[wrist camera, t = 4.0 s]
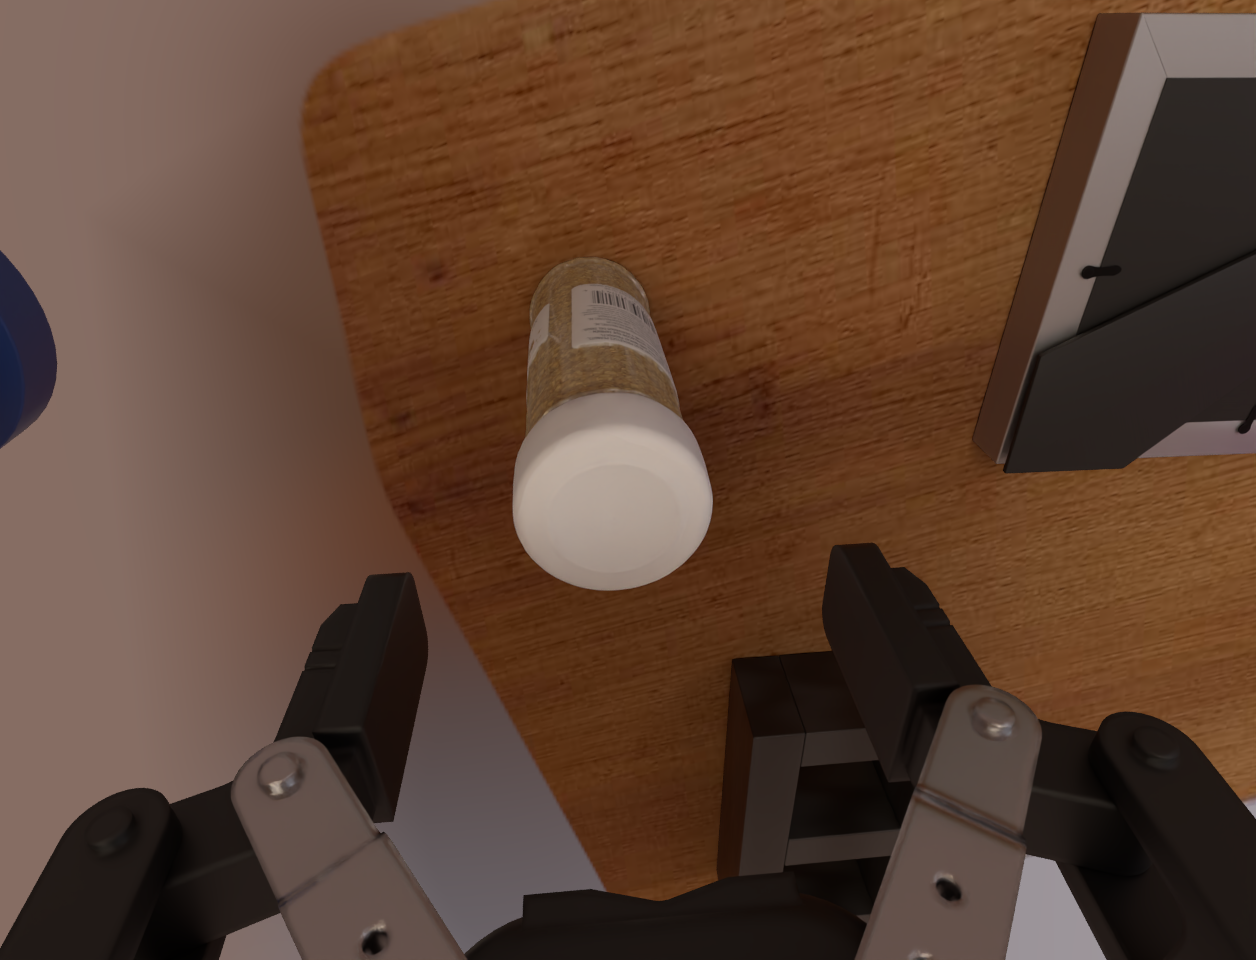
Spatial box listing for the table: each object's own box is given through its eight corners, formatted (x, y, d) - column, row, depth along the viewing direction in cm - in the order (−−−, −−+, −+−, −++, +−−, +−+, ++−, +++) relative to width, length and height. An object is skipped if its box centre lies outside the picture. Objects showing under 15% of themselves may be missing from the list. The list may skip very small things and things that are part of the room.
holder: (716, 868, 49) (731, 949, 44) (731, 658, 38) (753, 738, 34) (878, 853, 49) (908, 930, 45) (939, 642, 39) (986, 718, 34)
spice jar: (504, 310, 27) (466, 518, 16) (595, 226, 26) (625, 387, 14) (587, 392, 29) (605, 628, 18) (675, 318, 28) (756, 523, 16)
